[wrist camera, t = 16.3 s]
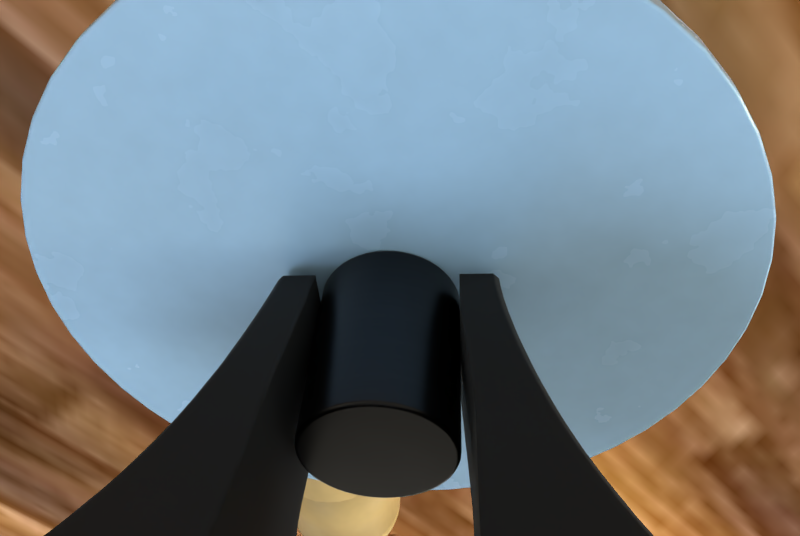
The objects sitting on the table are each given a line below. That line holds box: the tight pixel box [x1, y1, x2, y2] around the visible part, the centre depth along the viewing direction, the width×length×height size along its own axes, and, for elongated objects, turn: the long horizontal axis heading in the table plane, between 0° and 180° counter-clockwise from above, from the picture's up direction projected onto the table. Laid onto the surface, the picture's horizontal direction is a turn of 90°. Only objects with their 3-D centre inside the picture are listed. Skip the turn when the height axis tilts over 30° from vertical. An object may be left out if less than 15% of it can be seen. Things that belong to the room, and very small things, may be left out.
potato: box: [298, 478, 400, 536], centre depth 25 cm, size 7×4×4 cm, turn 4°
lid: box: [21, 0, 776, 498], centre depth 13 cm, size 14×14×4 cm
